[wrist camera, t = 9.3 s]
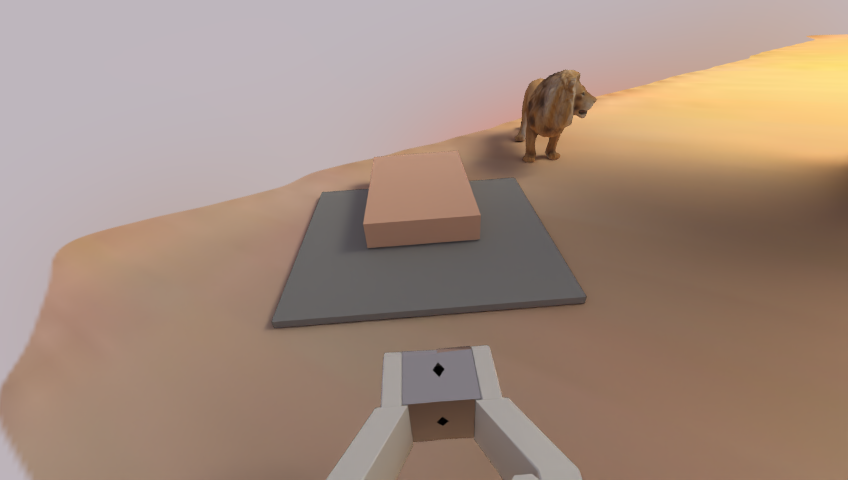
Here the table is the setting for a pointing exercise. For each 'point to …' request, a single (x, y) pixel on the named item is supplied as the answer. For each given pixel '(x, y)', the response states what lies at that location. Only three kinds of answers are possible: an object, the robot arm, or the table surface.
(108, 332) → the table surface
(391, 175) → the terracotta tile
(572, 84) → the lion figurine
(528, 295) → the rubber mat
